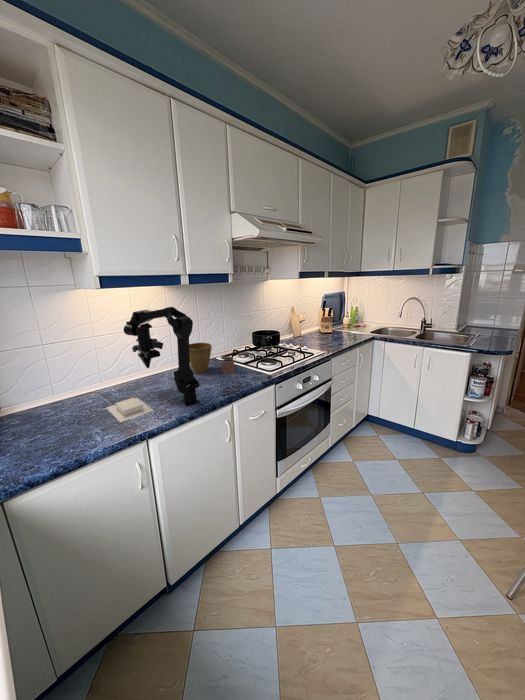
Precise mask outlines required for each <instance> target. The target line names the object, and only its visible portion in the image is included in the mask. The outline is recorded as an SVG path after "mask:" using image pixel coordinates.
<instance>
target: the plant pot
mask: <svg viewBox="0 0 525 700" xmlns="http://www.w3.org/2000/svg"><path fill="white" fill-rule="evenodd" d="M211 352H212V344H211V343H208V342H195V343H194V342H193V343H189V354H190V368H191V370H192V371H193V373H194V374H204V373H206V372H207V370H208V367H209V363H210V359H211V355H212V354H211Z"/></svg>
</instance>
